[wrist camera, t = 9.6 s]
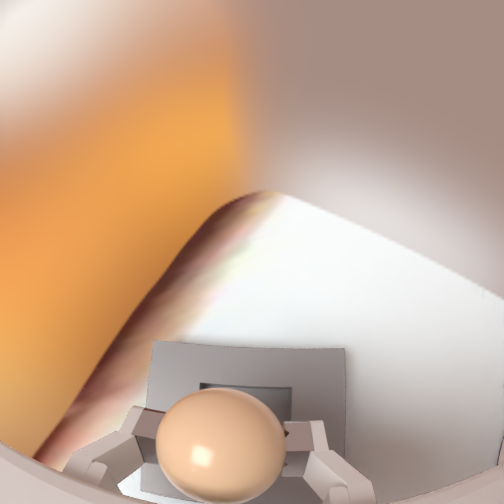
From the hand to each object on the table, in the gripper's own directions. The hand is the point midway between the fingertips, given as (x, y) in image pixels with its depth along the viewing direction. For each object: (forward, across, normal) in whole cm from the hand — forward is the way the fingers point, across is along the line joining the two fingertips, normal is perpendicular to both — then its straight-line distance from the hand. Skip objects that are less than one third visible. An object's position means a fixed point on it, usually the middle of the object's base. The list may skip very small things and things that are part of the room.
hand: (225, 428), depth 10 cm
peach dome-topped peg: (+3, 0, +4) cm, 4 cm away
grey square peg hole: (+8, 0, +9) cm, 12 cm away
